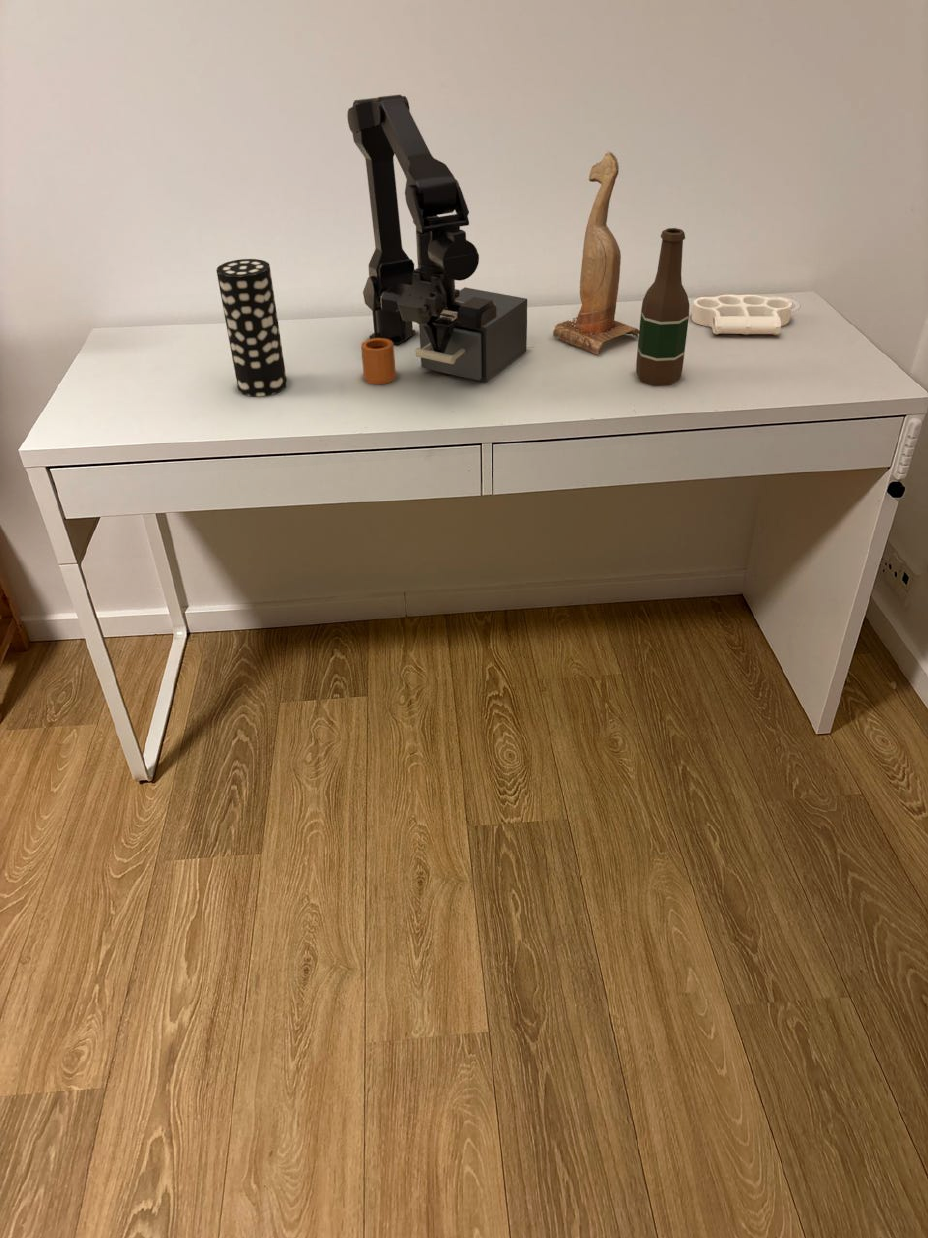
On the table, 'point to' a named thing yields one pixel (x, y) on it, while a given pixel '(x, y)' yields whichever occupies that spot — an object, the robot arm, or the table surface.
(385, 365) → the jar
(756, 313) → the white brass knuckles
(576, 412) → the table surface
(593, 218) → the bird sculpture
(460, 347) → the drawer
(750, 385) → the table surface
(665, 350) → the beer bottle
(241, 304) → the spotted tube
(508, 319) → the cabinet
